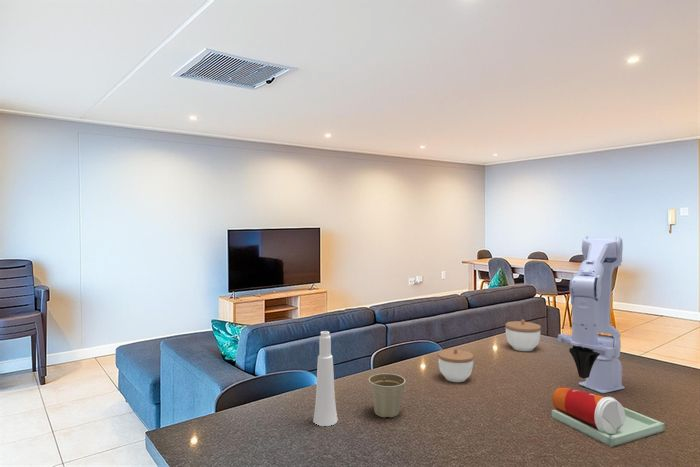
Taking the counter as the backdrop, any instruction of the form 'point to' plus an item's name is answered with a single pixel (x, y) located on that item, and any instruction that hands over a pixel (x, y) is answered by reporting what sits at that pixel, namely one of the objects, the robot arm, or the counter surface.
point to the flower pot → (386, 393)
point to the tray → (630, 431)
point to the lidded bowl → (523, 335)
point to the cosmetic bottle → (325, 384)
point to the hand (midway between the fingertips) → (584, 377)
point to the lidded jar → (455, 364)
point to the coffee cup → (590, 409)
